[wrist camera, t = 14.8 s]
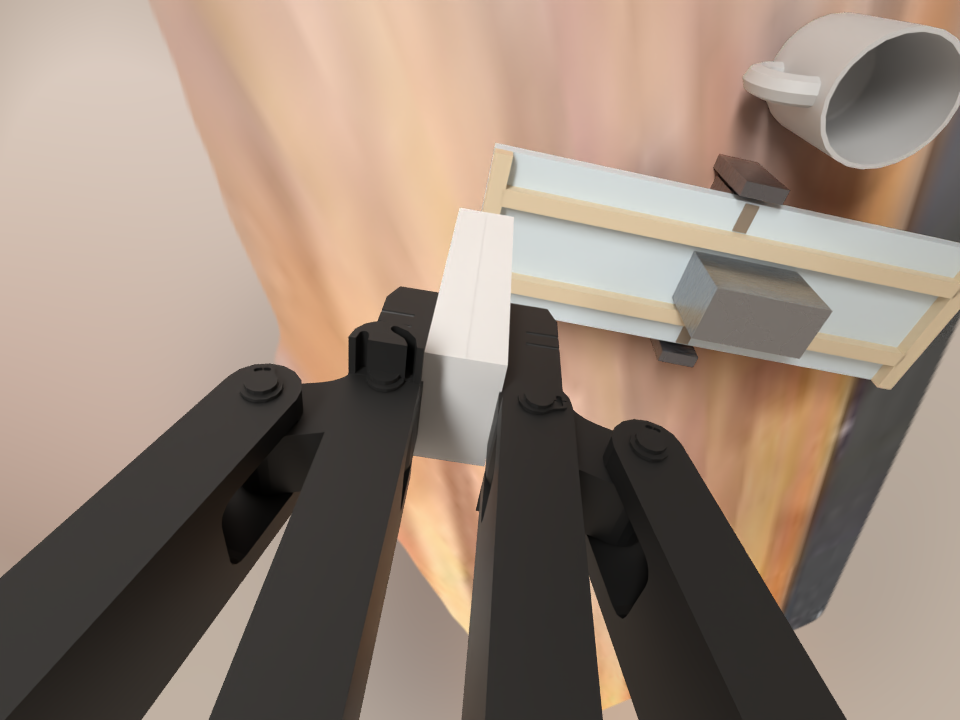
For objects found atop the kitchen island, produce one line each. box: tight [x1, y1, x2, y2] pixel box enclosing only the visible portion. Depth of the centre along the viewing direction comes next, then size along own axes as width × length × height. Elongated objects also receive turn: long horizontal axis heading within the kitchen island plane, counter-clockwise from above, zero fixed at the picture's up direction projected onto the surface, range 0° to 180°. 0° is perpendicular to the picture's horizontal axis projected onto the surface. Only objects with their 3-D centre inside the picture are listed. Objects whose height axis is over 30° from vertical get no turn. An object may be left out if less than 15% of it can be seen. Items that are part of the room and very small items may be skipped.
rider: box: [672, 251, 833, 359], centre depth 39 cm, size 4×8×6 cm, turn 79°
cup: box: [743, 12, 960, 169], centre depth 33 cm, size 7×10×9 cm
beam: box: [481, 143, 960, 390], centre depth 41 cm, size 12×36×2 cm, turn 79°
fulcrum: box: [650, 154, 790, 367], centre depth 43 cm, size 15×3×6 cm, turn 169°
